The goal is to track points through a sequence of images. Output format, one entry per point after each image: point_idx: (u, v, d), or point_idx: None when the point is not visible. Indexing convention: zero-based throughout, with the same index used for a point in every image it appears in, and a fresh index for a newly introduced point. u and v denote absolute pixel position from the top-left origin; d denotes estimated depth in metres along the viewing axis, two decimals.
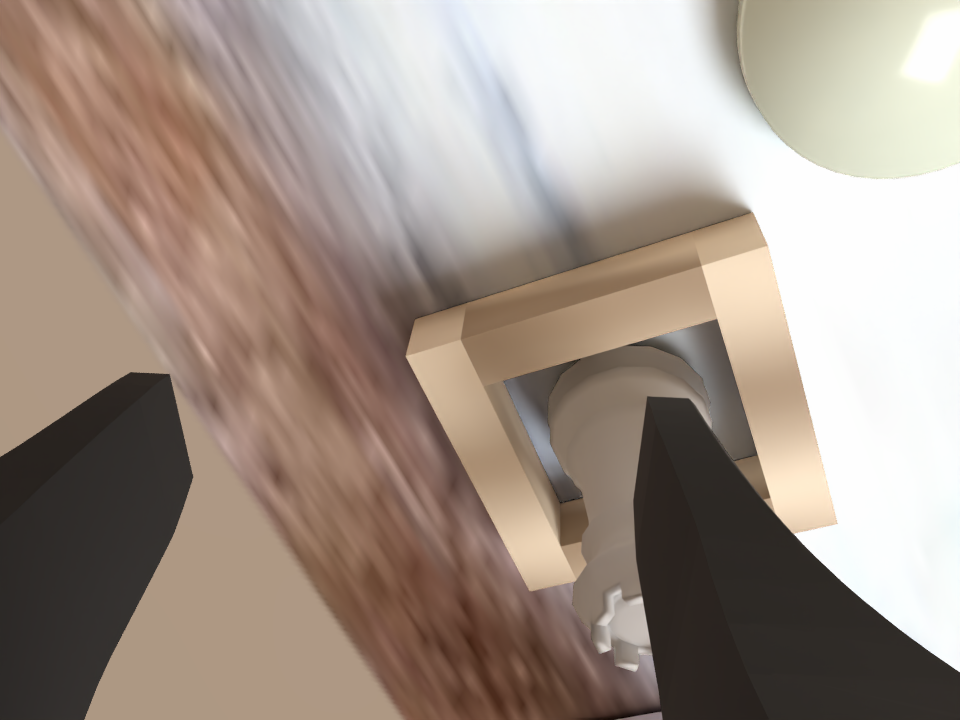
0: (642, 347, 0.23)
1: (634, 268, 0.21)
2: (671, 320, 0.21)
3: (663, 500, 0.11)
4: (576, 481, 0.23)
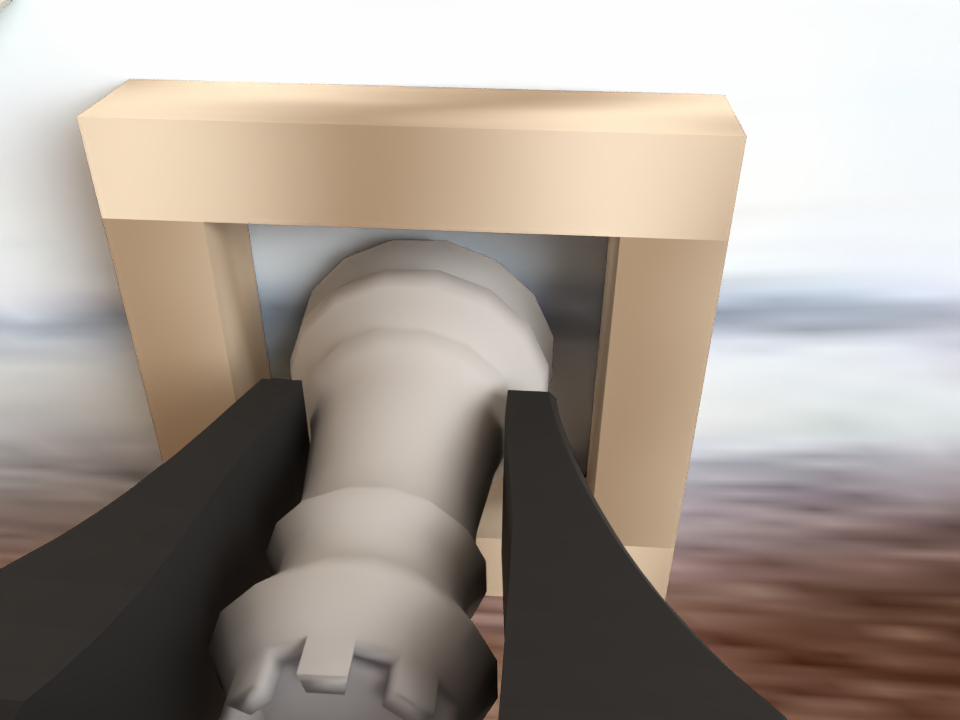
0: (310, 301, 0.15)
1: None
2: (194, 283, 0.13)
3: (506, 492, 0.11)
4: None
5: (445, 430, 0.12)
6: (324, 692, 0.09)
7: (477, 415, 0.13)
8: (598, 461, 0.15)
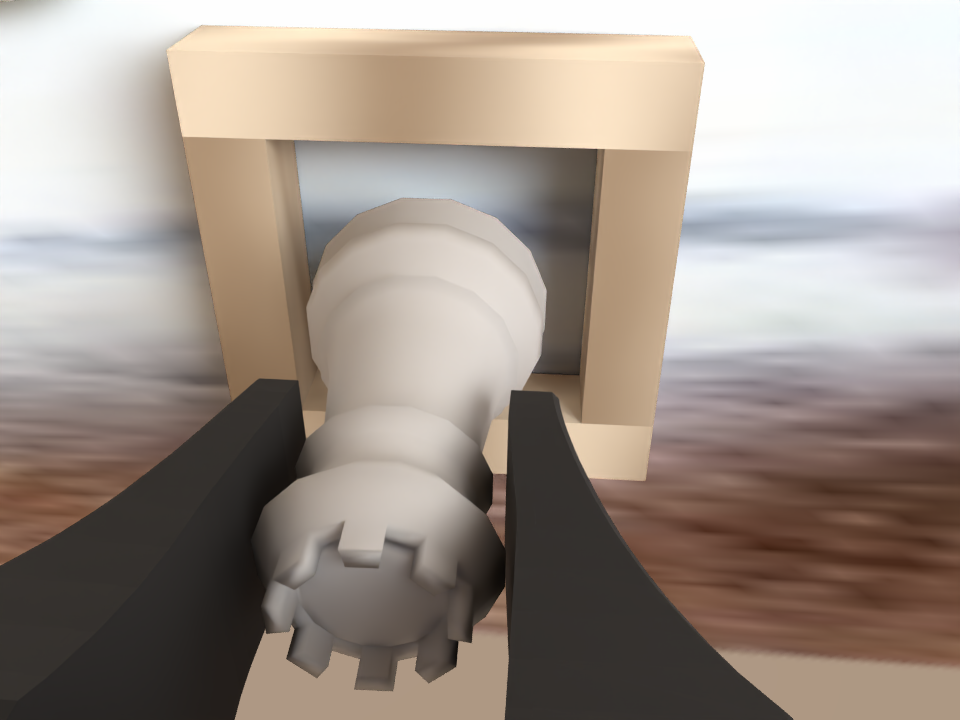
0: (324, 255, 0.16)
1: None
2: (255, 192, 0.16)
3: (509, 492, 0.11)
4: None
5: (455, 363, 0.13)
6: (361, 567, 0.10)
7: (481, 352, 0.14)
8: (588, 347, 0.18)
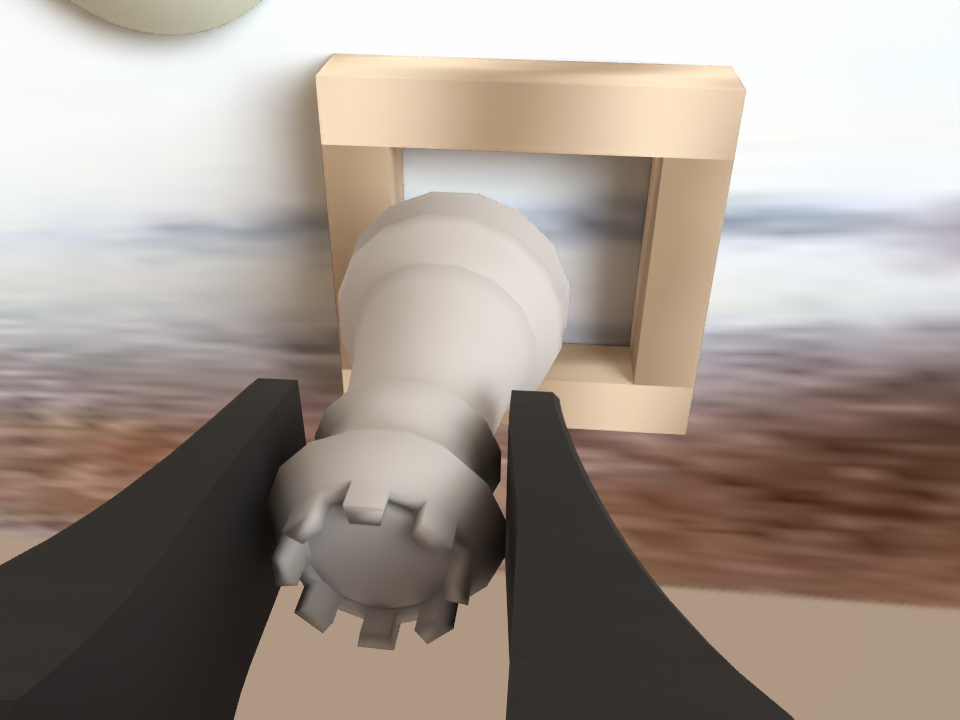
0: (357, 245, 0.17)
1: None
2: (377, 190, 0.20)
3: (510, 492, 0.11)
4: None
5: (471, 345, 0.14)
6: (365, 523, 0.11)
7: (499, 338, 0.14)
8: (642, 320, 0.21)
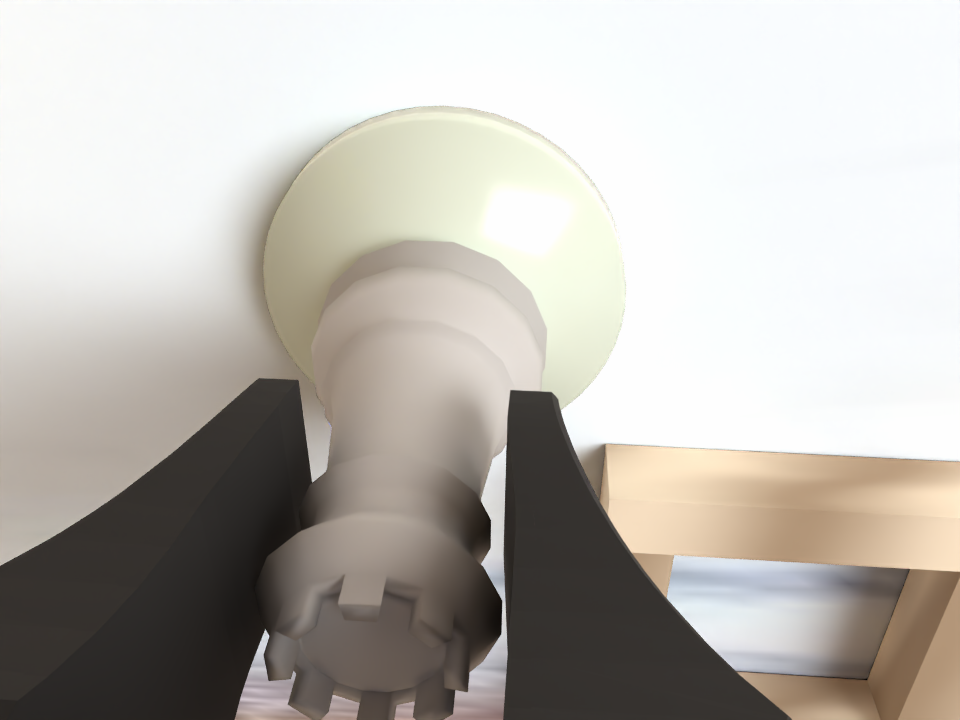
0: (329, 294, 0.17)
1: None
2: None
3: (508, 492, 0.11)
4: None
5: (455, 408, 0.14)
6: (361, 619, 0.10)
7: (481, 396, 0.14)
8: (909, 693, 0.21)
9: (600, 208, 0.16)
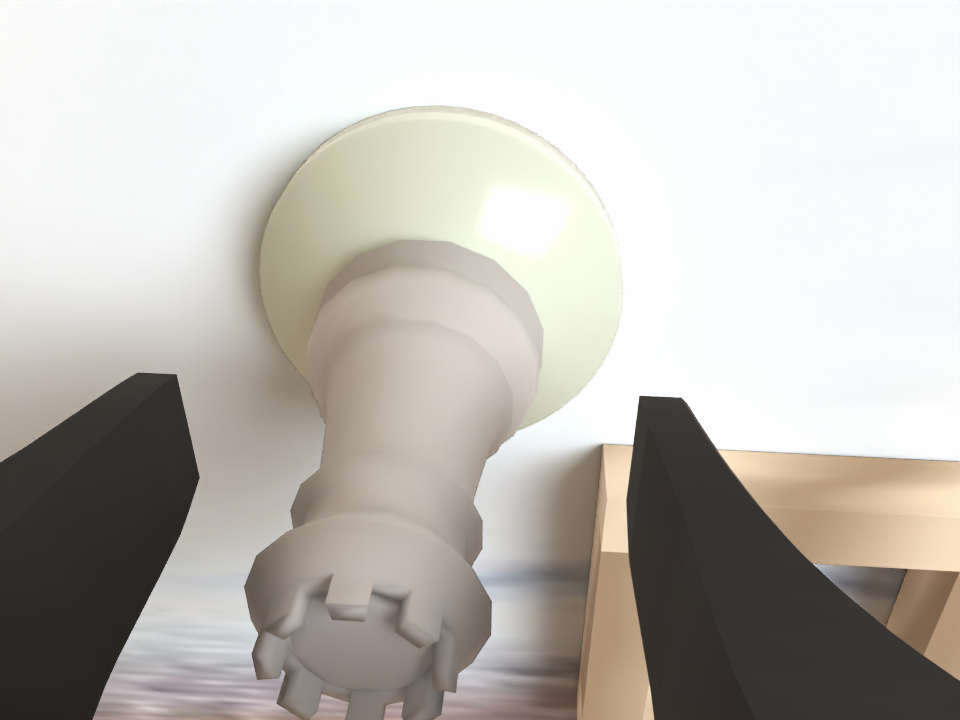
0: (325, 293, 0.17)
1: (594, 571, 0.21)
2: None
3: (655, 499, 0.11)
4: None
5: (448, 408, 0.14)
6: (348, 620, 0.10)
7: (475, 396, 0.14)
8: None
9: (597, 208, 0.16)
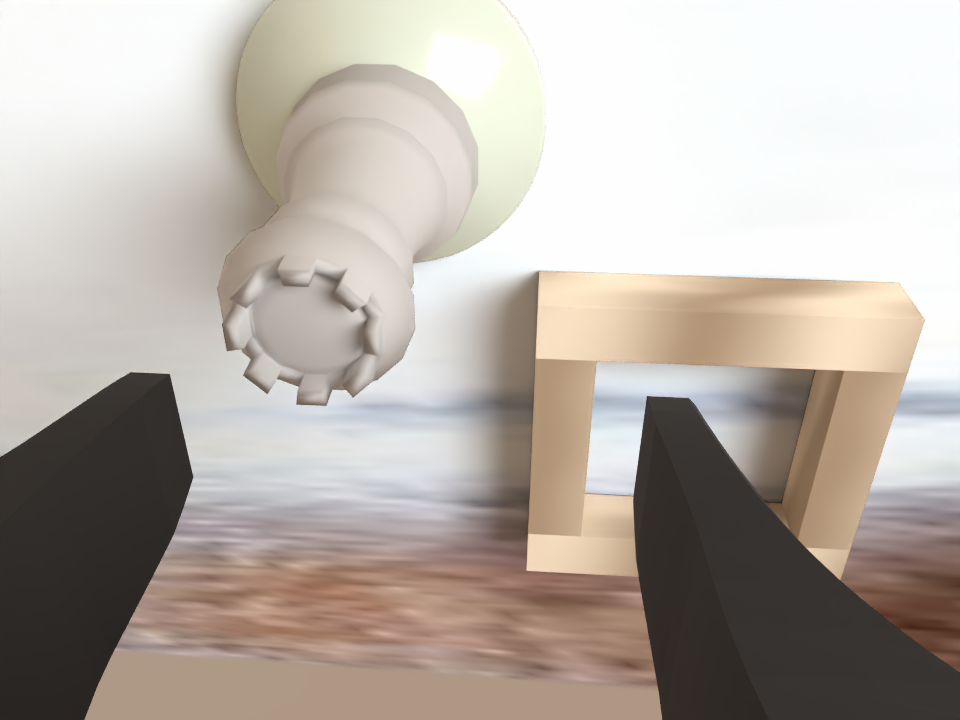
0: None
1: None
2: (581, 393, 0.22)
3: (663, 500, 0.11)
4: None
5: (388, 177, 0.16)
6: (296, 286, 0.13)
7: (412, 177, 0.17)
8: (810, 496, 0.24)
9: (519, 36, 0.19)
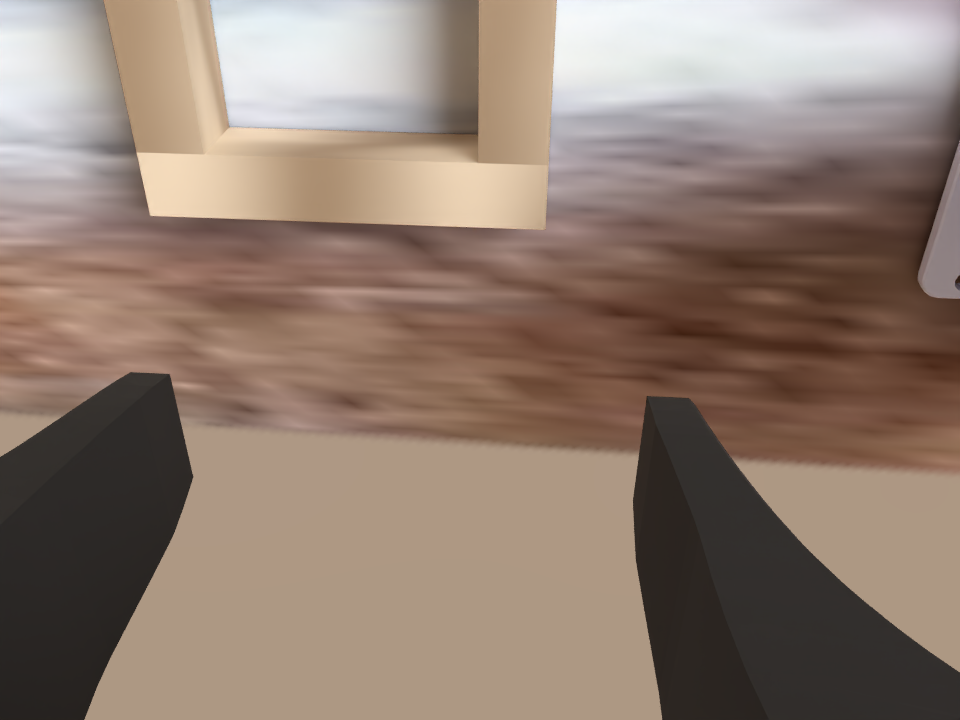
0: None
1: None
2: None
3: (663, 500, 0.11)
4: None
5: None
6: None
7: None
8: (479, 73, 0.18)
9: None
